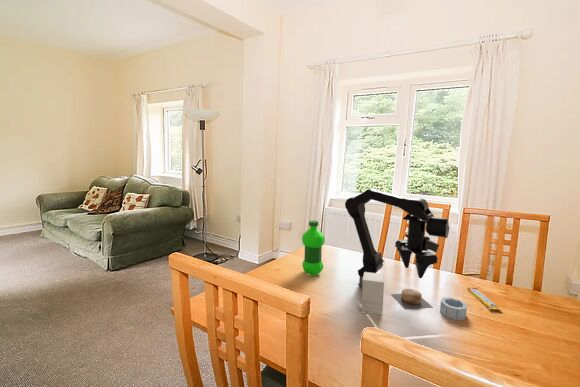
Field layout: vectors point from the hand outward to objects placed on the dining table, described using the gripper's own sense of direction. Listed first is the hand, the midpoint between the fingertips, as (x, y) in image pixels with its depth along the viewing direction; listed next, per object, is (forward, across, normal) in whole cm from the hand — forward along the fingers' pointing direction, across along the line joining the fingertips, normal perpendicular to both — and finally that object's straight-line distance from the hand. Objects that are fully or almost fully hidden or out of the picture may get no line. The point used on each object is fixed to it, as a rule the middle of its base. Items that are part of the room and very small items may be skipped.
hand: (413, 272), depth 108 cm
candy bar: (+13, -2, -29) cm, 32 cm away
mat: (+12, 0, 0) cm, 12 cm away
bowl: (+12, -10, -10) cm, 18 cm away
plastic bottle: (+12, +30, +32) cm, 46 cm away
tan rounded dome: (+11, 0, 0) cm, 11 cm away
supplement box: (+12, -3, +17) cm, 21 cm away
